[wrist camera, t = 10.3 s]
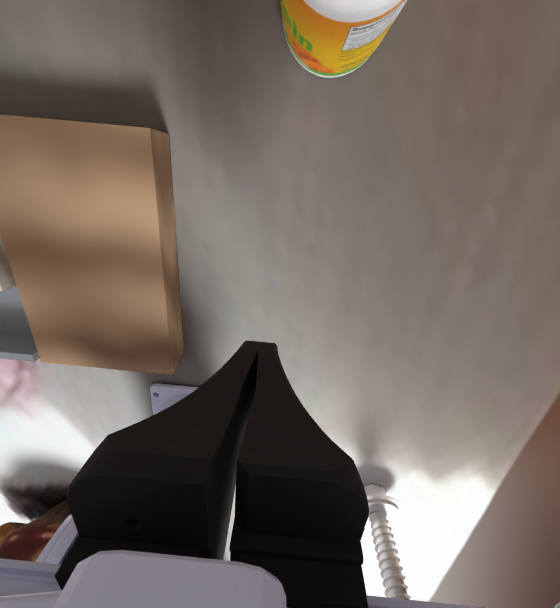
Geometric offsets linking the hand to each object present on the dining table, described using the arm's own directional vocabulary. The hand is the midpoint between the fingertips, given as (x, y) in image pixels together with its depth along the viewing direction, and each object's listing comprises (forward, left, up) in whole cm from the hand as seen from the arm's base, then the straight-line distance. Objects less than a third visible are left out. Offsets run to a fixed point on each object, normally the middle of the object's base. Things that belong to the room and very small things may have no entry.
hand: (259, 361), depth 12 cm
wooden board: (+1, +12, -9) cm, 15 cm away
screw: (-22, -12, -10) cm, 27 cm away
